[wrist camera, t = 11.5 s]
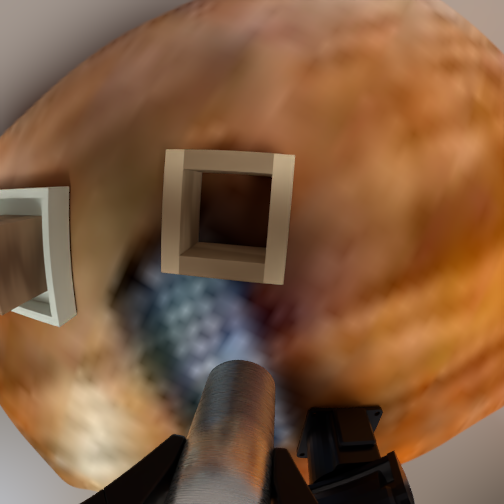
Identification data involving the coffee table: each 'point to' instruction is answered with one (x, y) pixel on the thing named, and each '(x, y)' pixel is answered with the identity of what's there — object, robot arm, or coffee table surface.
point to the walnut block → (21, 260)
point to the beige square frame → (188, 214)
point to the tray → (47, 249)
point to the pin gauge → (229, 440)
